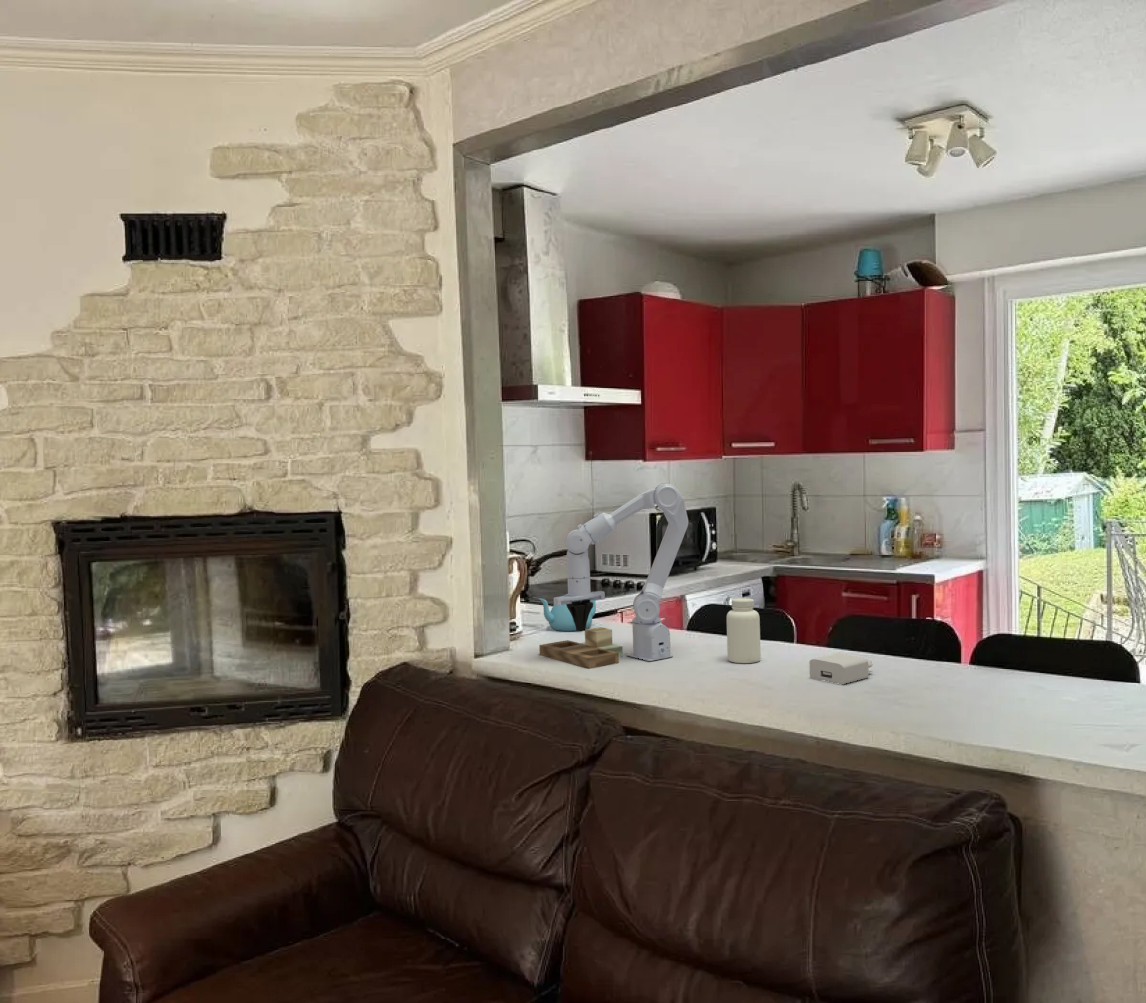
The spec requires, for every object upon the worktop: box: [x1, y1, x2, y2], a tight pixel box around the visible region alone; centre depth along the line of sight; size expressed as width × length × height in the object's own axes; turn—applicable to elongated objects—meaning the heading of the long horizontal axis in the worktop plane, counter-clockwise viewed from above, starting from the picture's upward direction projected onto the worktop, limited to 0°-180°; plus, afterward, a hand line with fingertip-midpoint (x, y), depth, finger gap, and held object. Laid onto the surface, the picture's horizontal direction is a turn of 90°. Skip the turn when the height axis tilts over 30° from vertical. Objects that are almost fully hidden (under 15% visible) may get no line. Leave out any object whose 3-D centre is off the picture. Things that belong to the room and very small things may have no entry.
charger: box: [809, 652, 874, 685], centre depth 212 cm, size 5×9×15 cm
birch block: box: [584, 626, 613, 648], centre depth 243 cm, size 5×5×4 cm
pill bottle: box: [726, 597, 762, 664], centre depth 231 cm, size 8×8×15 cm
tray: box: [539, 640, 623, 669], centre depth 241 cm, size 22×14×2 cm, turn 35°
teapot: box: [538, 593, 597, 632], centre depth 282 cm, size 15×15×10 cm
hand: (580, 630), depth 240 cm, fingers closed
